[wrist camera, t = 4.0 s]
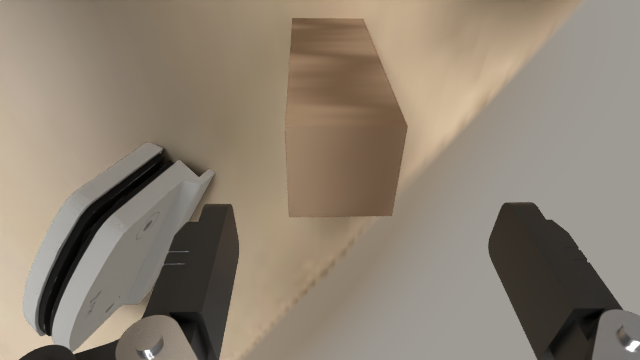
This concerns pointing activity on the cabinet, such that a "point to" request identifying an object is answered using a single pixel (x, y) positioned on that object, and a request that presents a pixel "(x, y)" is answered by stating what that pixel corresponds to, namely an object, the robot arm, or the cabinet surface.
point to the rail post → (340, 123)
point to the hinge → (109, 244)
